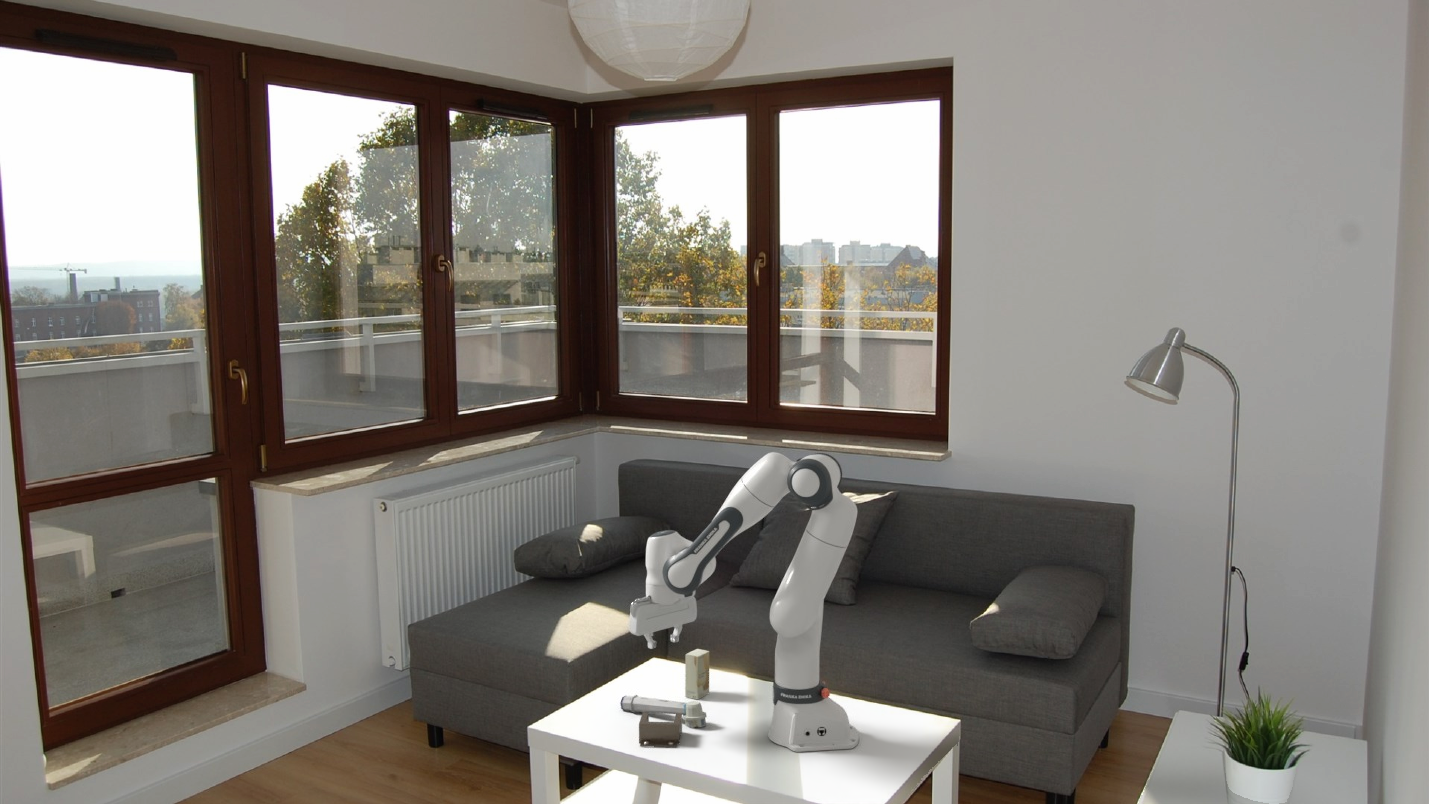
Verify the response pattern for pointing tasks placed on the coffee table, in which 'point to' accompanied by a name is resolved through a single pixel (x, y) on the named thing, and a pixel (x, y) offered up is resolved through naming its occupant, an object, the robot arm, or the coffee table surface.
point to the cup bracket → (660, 732)
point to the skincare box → (697, 674)
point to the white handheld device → (666, 708)
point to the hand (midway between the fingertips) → (663, 644)
